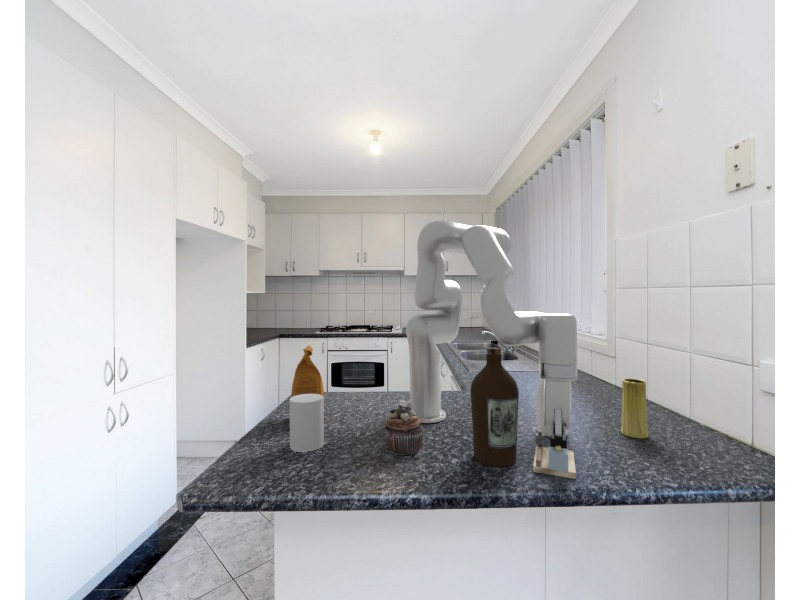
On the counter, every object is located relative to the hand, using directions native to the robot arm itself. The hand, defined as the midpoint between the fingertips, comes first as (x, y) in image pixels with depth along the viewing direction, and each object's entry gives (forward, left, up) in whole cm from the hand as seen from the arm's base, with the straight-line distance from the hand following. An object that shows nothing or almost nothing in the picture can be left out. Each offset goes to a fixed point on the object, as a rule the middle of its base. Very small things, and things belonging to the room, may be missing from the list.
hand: (558, 456), depth 77 cm
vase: (+19, +28, -3) cm, 34 cm away
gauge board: (-1, +1, -2) cm, 3 cm away
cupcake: (-34, -3, -3) cm, 35 cm away
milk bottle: (-1, +21, -3) cm, 21 cm away
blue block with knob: (0, -4, -1) cm, 4 cm away
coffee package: (-69, +5, -3) cm, 70 cm away
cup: (-57, -11, -3) cm, 59 cm away
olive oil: (-13, 0, -3) cm, 14 cm away
